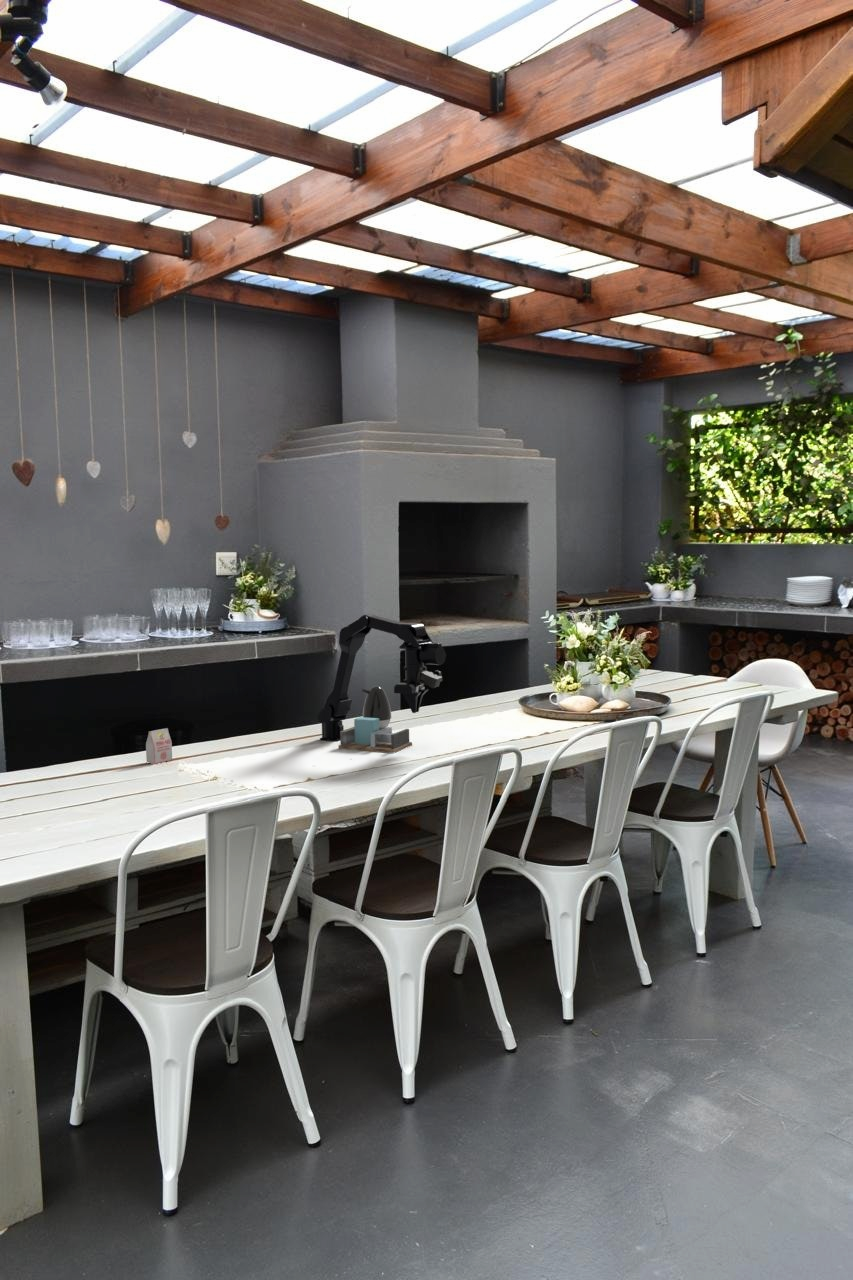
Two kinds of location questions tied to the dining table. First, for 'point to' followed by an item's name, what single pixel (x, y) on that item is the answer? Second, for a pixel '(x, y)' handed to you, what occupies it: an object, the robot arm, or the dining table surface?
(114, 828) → the dining table surface
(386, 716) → the pump dispenser
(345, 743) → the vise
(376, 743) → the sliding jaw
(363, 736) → the workpiece block
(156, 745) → the white cardboard carton
